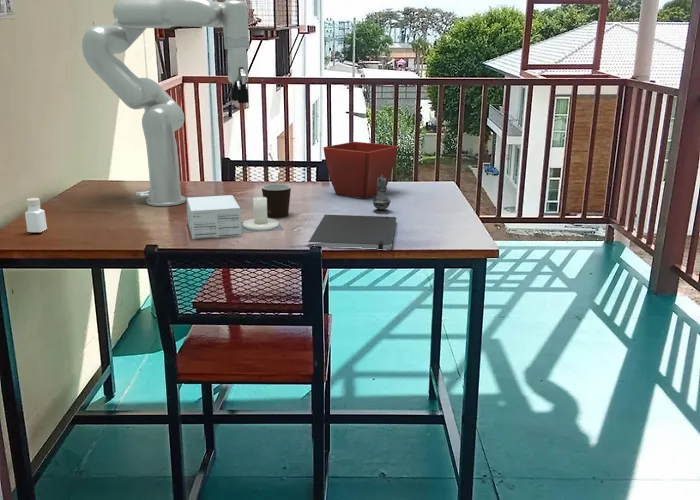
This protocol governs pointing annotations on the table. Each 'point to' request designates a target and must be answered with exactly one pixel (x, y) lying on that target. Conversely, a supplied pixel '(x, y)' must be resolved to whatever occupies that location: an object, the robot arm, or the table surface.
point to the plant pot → (359, 167)
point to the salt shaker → (35, 216)
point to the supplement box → (213, 217)
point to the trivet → (260, 231)
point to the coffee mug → (277, 199)
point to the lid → (260, 217)
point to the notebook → (355, 231)
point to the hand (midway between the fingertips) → (240, 101)
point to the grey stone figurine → (381, 197)
